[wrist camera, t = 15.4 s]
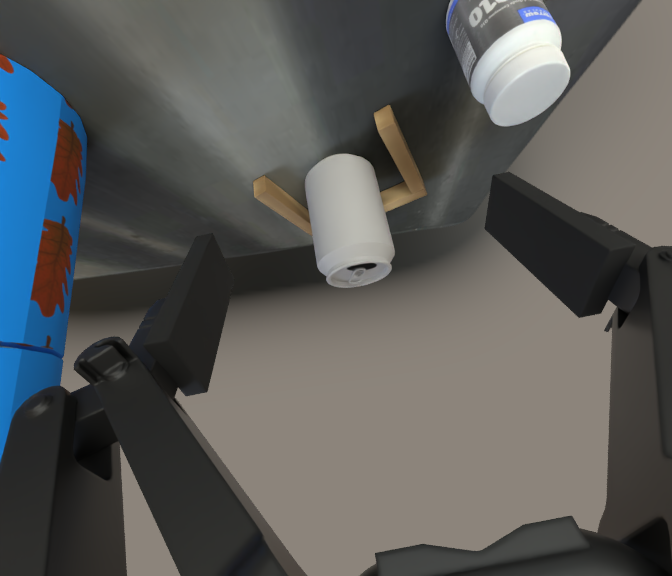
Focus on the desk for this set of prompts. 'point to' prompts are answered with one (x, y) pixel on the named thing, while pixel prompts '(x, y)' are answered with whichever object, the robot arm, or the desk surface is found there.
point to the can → (348, 221)
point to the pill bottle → (509, 56)
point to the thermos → (35, 232)
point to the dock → (390, 197)
